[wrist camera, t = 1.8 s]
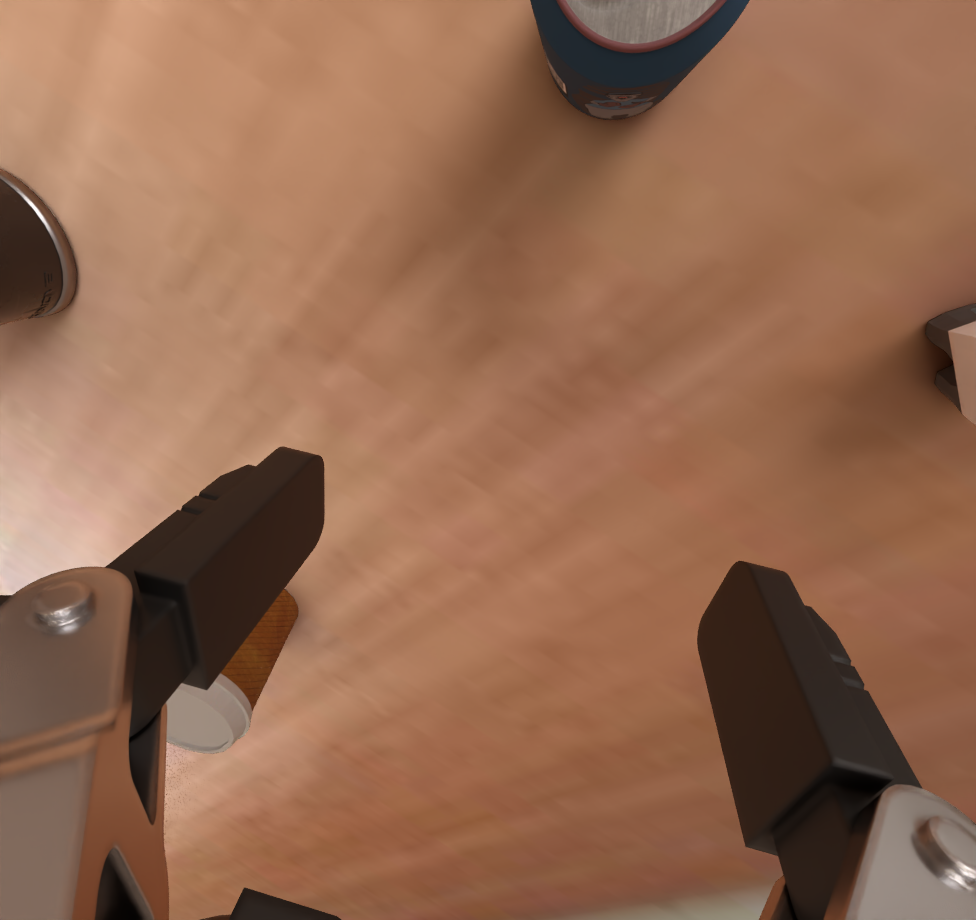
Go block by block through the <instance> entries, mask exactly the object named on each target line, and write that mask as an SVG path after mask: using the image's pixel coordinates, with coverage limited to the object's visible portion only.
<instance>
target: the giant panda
mask: <svg viewBox="0 0 976 920" xmlns="http://www.w3.org/2000/svg"><path fill="white" fill-rule="evenodd" d="M925 334H926V335H927V337H928V338H929V339H930V341H931V342H932V343H933V344H935V345H936V346H938V347H940V348H941V349H943V350H945V351H946V353H947V354H948V355H949V357H950V358H951V359H952V360H953V363H954V364H953V365H951V366H949V367H947V368H945V369H943V370H941V371H939V372H938V373H937V375H936V380H935V385H936V386H937V387H938V389H939V390H940V391H941V392H942V393H943V394H944V395H945V396H947V397H948V398H949V399H950V400H951V401H952V402H953V403H954V404H955V406H956V407H957V408H958V409H959V411H960V412H961V413H962V414H963V415H964V416H965V417H966V418H967V419H968V420H969V421H971V422H972V423H973V424H975V425H976V304H972V305H967V306H964V307H961V308H958V309H955V310H952V311H949V312H946V313H944V314H942V315H940V316H938V317H936V318H934V319H933V320H931V321H929V322H928V324H927V328H926V333H925Z"/></svg>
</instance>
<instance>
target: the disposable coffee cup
mask: <svg viewBox="0 0 976 920" xmlns="http://www.w3.org/2000/svg"><path fill="white" fill-rule="evenodd" d="M297 617H298V607H297V604H296V602H295V600H294V599H293V598H292V596H291V595H290V594H289V593H288V592H287V591H286V590H284V589H283V591H282V592H281V593H280V595H279V596H278V597H277V599H276V600H275V601H274V603H273V604H272V605H271V607H270V608H269V609H268V611H267V612H266V613H265V615H264V616H263V617H262V619H261V620H260V621H259V623H258V624H257V625H256V627H255V628H254V629H253V631H252V632H251V633H250V634H249V636H248V637H247V638H246V640H245V641H244V642H243V644H242V645H241V646H240V648H239V649H238V650H237V652H236V653H235V654H234V656H233V657H232V658H231V660H230V661H229V662H228V664H227V665H226V666H225V668H224V669H223V670H222V672H221V673H220V674H219V676H218V677H217V678H216V680H215V681H214V682H213V684H212V685H211V686H210V688H209V689H208V690H204V689H200V688H197V687H193V686H190V685H186V684H183V683H181V685H180V686H179V687H178V688H177V689H176V691H175V692H174V693H173V694H172V696H171V697H170V698H169V699H168V701H167V702H166V704H167V740H166V742H168V743H170V744H173V745H175V746H177V747H180V748H183V749H186V750H189V751H193V752H199V753H211V754H214V753H219V752H224V751H225V750H227V749H228V748H230V747H231V746H232V745H233V744H234V743H235V741H236V740H237V739H240V738H241V737H243V736H244V735H245V734H246V733H247V731H248V729H249V727H250V722H251V717H252V711H253V709H254V706H255V705H256V702H257V700H258V698H259V696H260V694H261V692H262V690H263V688H264V686H265V684H266V682H267V679H268V677H269V675H270V673H271V671H272V669H273V667H274V665H275V663H276V661H277V658H278V657H279V654H280V652H281V650H282V648H283V646H284V644H285V641H286V640H287V638H288V635H289V634H290V631H291V629H292V627H293V625H294V622H295V621H296V619H297Z"/></svg>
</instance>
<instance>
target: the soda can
mask: <svg viewBox="0 0 976 920" xmlns="http://www.w3.org/2000/svg"><path fill="white" fill-rule="evenodd" d="M530 1H531V5H532V8H533V12H534V16H535V19H536V23H537V27H538V30H539V34H540V38H541V41H542V45H543V48H544V52H545V56H546V59H547V63H548V67H549V70H550V72H551V75H552V77H553V80H554V82H555V84H556V85H557V87H558V89H559V90H560V92H561V93H562V94H563V96H564V97H565V98H566V99H567V100H568V101H569V102H570V103H571V104H572V105H573V106H574V107H575V108H577V109H578V110H580V111H581V112H583V113H585V114H587V115H589V116H592V117H595V118H599V119H605V120H618V119H625V118H629V117H633V116H636V115H638V114H641V113H643V112H645V111H647V110H648V109H650V108H652V107H653V106H655V105H656V104H658V103H659V102H660V101H661V100H663V99H664V98H665V97H666V96H667V95H668V94H669V93H670V92H671V91H672V90H673V89H674V88H675V87H676V86H677V85H678V84H679V83H680V82H681V81H682V80H683V79H684V78H685V77H686V76H687V75H688V73H689V72H690V71H691V70H692V69H693V68H694V67H695V66H696V65H697V64H698V63H699V62H700V61H701V60H702V59H703V58H704V57H705V56H706V55H707V54H708V53H709V52H710V51H711V49H712V48H713V47H714V46H715V45H716V44H717V43H718V42H719V41H720V40H721V39H722V38H723V37H724V36H725V34H726V33H727V32H728V31H729V30H730V28H731V27H732V26H733V24H734V23H735V22H736V20H737V19H738V18H739V16H740V15H741V13H742V12H743V10H744V9H745V7H746V5H747V4H748V2H749V0H530Z"/></svg>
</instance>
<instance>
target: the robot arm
mask: <svg viewBox="0 0 976 920" xmlns="http://www.w3.org/2000/svg"><path fill="white" fill-rule="evenodd" d="M75 288H76V268H75V262H74V258H73V255H72V251H71V249H70V246H69V243H68V241H67V239H66V237H65V235H64V233H63V231H62V229H61V227H60V226H59V224H58V222H57V221H56V219H55V218H54V216H53V215H52V213H51V212H50V211H49V209H48V208H47V207H46V206H45V204H44V203H43V202H42V201H41V200H40V199H39V198H38V197H37V196H36V195H35V194H34V193H33V192H32V191H31V190H30V189H29V188H28V187H27V186H26V185H24V184H23V183H22V182H21V181H19V180H18V179H16V178H15V177H14V176H12V175H10V174H9V173H7V172H5V171H3V170H1V169H0V325H3V324H7V323H11V322H15V321H19V320H23V319H29V318H38V317H43V316H47V315H51V314H54V313H57V312H59V311H61V310H63V309H64V308H65V307H66V306H67V305H68V304H69V303H70V301H71V299H72V297H73V295H74V292H75ZM323 525H324V462H323V459H322V457H321V456H319V455H315V454H311V453H307V452H303V451H299V450H295V449H291V448H287V447H279V448H278V449H276V450H275V451H274V452H272V453H271V454H270V455H269V456H268V457H267V458H265V459H264V460H263V461H262V462H261V463H260V464H258V465H257V466H252V465H246V466H244V467H241V468H239V469H236V470H234V471H231V472H229V473H227V474H224V475H222V476H220V477H219V478H217V479H216V480H215V481H214V482H212V483H211V484H210V485H208V486H207V487H206V488H205V489H203V490H202V491H201V492H200V494H199V496H195V497H193V498H192V499H191V500H190V501H188V502H187V503H186V504H184V505H183V506H182V509H181V511H180V510H177V511H176V512H174V513H173V514H172V515H171V516H169V517H168V518H167V519H166V520H164V521H163V522H162V523H160V524H159V525H158V526H157V527H155V528H154V529H153V530H152V531H150V532H149V533H148V534H147V535H145V536H144V537H143V538H142V539H140V540H139V541H138V542H136V543H135V544H134V545H133V546H131V547H130V548H129V549H128V550H126V551H125V552H124V553H123V554H121V555H120V556H119V557H117V558H116V559H115V560H114V561H112V562H111V563H110V564H109V565H107V566H106V567H81V568H74V569H69V570H64V571H61V572H57V573H54V574H51V575H48V576H46V577H43V578H41V579H39V580H37V581H34V582H32V583H30V584H29V585H27V586H25V587H24V588H22V589H20V590H19V591H17V592H16V593H15V594H13V595H0V920H169V886H168V873H167V864H166V857H165V850H164V799H165V770H166V740H167V704H166V702H167V701H168V699H169V698H170V697H171V696H172V694H173V693H174V692H175V691H176V689H177V688H178V687H179V686H180V685H181V683H183V684H186V685H190V686H193V687H197V688H200V689H204V690H208V689H209V688H210V686H211V685H212V684H213V682H214V681H215V680H216V678H217V677H218V676H219V674H220V673H221V672H222V670H223V669H224V668H225V666H226V665H227V664H228V662H229V661H230V660H231V658H232V657H233V656H234V654H235V653H236V652H237V650H238V649H239V648H240V646H241V645H242V644H243V642H244V641H245V640H246V638H247V637H248V636H249V634H250V633H251V632H252V631H253V629H254V628H255V627H256V625H257V624H258V623H259V621H260V620H261V619H262V617H263V616H264V615H265V613H266V612H267V611H268V609H269V608H270V607H271V605H272V604H273V603H274V601H275V600H276V599H277V597H278V596H279V595H280V593H281V592H282V591H283V589H284V588H285V587H286V585H287V584H288V583H289V581H290V580H291V579H292V577H293V576H294V575H295V573H296V572H297V571H298V569H299V568H300V567H301V565H302V564H303V563H304V561H305V560H306V559H307V557H308V556H309V555H310V553H311V552H312V551H313V549H314V548H315V546H316V545H317V543H318V541H319V538H320V536H321V533H322V529H323ZM697 644H698V651H699V655H700V660H701V664H702V668H703V672H704V676H705V680H706V684H707V689H708V693H709V697H710V701H711V705H712V709H713V713H714V718H715V722H716V726H717V730H718V734H719V738H720V743H721V747H722V751H723V755H724V759H725V763H726V767H727V772H728V776H729V780H730V784H731V788H732V792H733V796H734V801H735V805H736V809H737V813H738V817H739V821H740V825H741V830H742V834H743V838H744V842H745V846H746V847H749V848H752V849H756V850H759V851H763V852H766V853H770V854H773V855H777V856H778V857H779V860H780V864H781V867H782V871H783V874H784V875H783V876H782V877H780V878H779V879H778V880H777V881H776V883H775V884H774V886H773V888H772V890H771V892H770V895H769V897H768V900H767V902H766V904H765V907H764V909H763V911H762V914H761V916H760V918H759V920H976V824H975V823H974V822H973V821H972V820H971V819H970V818H968V817H967V816H966V815H965V814H963V813H962V812H961V811H960V810H958V809H957V808H956V807H954V806H953V805H951V804H950V803H948V802H947V801H945V800H944V799H942V798H940V797H938V796H937V795H935V794H933V793H931V792H928V791H926V790H924V789H922V787H921V785H920V783H919V782H918V780H917V778H916V776H915V774H914V773H913V771H912V769H911V767H910V765H909V764H908V762H907V760H906V758H905V757H904V755H903V753H902V751H901V749H900V748H899V746H898V744H897V742H896V740H895V739H894V737H893V735H892V733H891V731H890V730H889V728H888V726H887V724H886V722H885V721H884V719H883V717H882V715H881V713H880V712H879V710H878V708H877V706H876V705H875V703H874V701H873V699H872V697H871V696H870V694H869V692H868V691H866V690H864V683H863V681H862V679H861V678H860V676H859V674H858V672H857V670H856V669H855V667H853V666H851V664H850V663H851V660H850V658H849V656H848V654H847V653H846V651H845V649H844V647H843V645H842V644H841V642H840V640H839V638H838V636H837V635H836V633H835V632H834V631H833V630H832V629H831V628H830V627H829V626H828V625H827V624H826V622H825V621H824V620H823V619H822V618H821V617H820V616H819V615H818V614H817V613H816V612H815V611H814V610H813V609H812V608H811V607H809V606H805V605H804V604H803V602H802V600H801V598H800V596H799V594H798V592H797V590H796V588H795V586H794V585H793V583H792V581H791V579H790V577H789V576H788V574H787V573H785V572H784V571H780V570H776V569H772V568H768V567H764V566H760V565H756V564H752V563H748V562H744V561H738V562H736V563H735V564H734V565H733V566H732V567H731V568H730V570H729V572H728V573H727V575H726V577H725V578H724V580H723V582H722V584H721V585H720V587H719V589H718V590H717V592H716V594H715V596H714V597H713V599H712V601H711V602H710V604H709V606H708V608H707V609H706V611H705V613H704V614H703V616H702V618H701V621H700V624H699V629H698V637H697ZM201 920H341V919H340V918H338V917H337V916H334V915H331V914H328V913H325V912H321V911H318V910H315V909H312V908H309V907H305V906H302V905H299V904H296V903H293V902H289V901H286V900H283V899H280V898H276V897H273V896H270V895H267V894H264V893H260V892H257V891H254V890H251V889H248V888H244V889H243V891H242V893H241V895H240V897H239V899H238V901H237V904H236V906H235V908H234V910H233V912H232V914H231V915H219V916H214V917H210V918H205V919H201Z"/></svg>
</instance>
